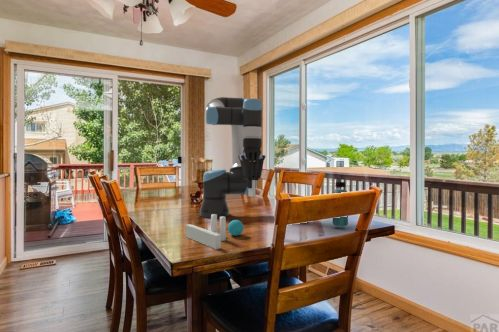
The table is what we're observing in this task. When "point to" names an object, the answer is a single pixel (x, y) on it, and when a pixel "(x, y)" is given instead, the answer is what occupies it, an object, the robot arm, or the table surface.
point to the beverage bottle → (342, 220)
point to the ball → (235, 227)
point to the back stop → (203, 236)
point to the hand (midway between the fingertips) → (251, 196)
